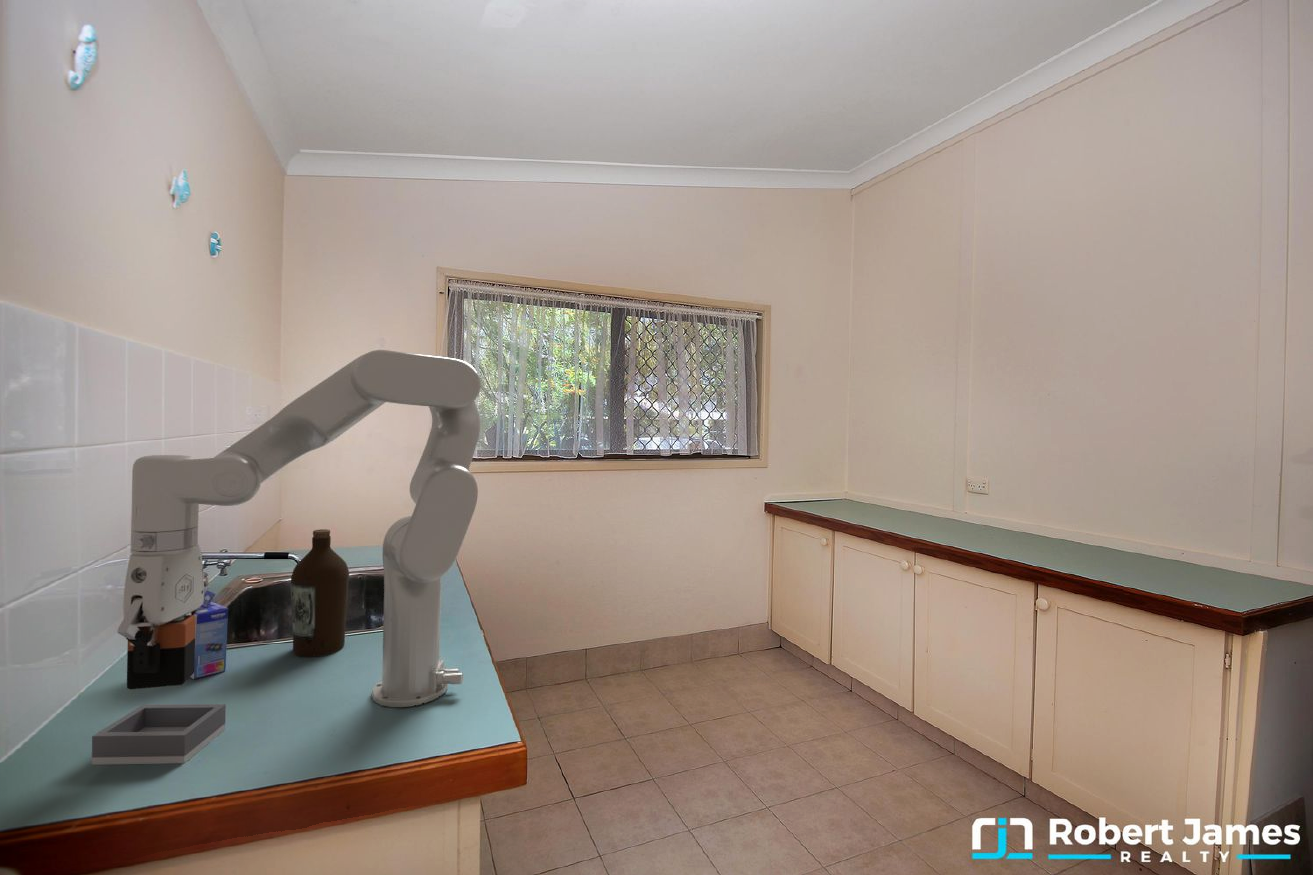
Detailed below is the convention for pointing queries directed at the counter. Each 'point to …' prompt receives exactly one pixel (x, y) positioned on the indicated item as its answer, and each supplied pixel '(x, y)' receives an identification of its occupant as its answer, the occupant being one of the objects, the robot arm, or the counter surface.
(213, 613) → the ink cartridge box
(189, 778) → the counter surface
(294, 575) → the olive oil
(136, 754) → the charging cradle
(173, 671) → the battery
